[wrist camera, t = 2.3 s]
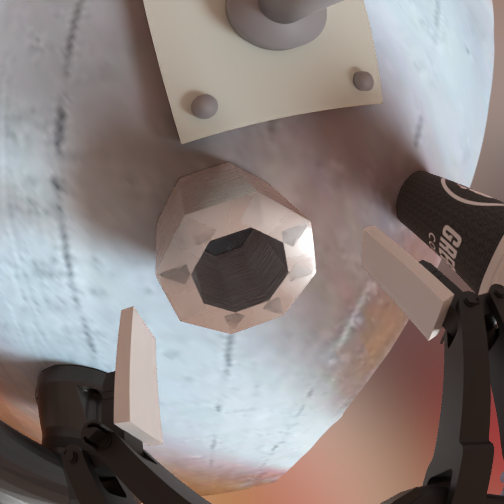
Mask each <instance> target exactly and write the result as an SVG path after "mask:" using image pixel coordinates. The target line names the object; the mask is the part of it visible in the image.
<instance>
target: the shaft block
mask: <svg viewBox="0 0 504 504" xmlns="http://www.w3.org/2000/svg"><path fill="white" fill-rule="evenodd" d="M143 2H144V7H145V11H146V15H147V19H148V24H149V28H150V32H151V36H152V40H153V44H154V48H155V52H156V55H157V59H158V63H159V67H160V71H161V74H162V78H163V82H164V85H165V89H166V93H167V96H168V100H169V103H170V107H171V110H172V114H173V117H174V121H175V124H176V128H177V131H178V134H179V138H180V141H181V144H185V143H188V142H191V141H194V140H198V139H201V138H204V137H207V136H211V135H214V134H218V133H221V132H225V131H229V130H232V129H236V128H240V127H244V126H248V125H252V124H256V123H260V122H265V121H269V120H274V119H279V118H284V117H289V116H294V115H299V114H305V113H310V112H316V111H323V110H329V109H336V108H344V107H352V106H361V105H371V104H383V100H382V92H381V84H380V77H379V70H378V64H377V58H376V53H375V47H374V42H373V38H372V33H371V28H370V24H369V20H368V16H367V12H366V8H365V4H364V1H363V0H143Z"/></svg>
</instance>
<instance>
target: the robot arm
mask: <svg viewBox="0 0 504 504" xmlns="http://www.w3.org/2000/svg"><path fill="white" fill-rule="evenodd" d="M362 268H363V269H364V270H365V271H366V272H367V273H368V274H369V275H370V276H371V277H372V278H373V279H374V280H375V281H376V282H377V283H378V284H379V285H380V287H381V288H382V289H383V290H384V291H385V292H386V293H387V294H388V295H389V296H390V297H391V299H392V300H393V301H394V302H395V303H396V304H397V305H398V306H399V307H400V308H401V310H402V311H403V312H404V313H405V314H406V315H407V316H408V317H409V319H410V320H411V321H412V322H413V323H414V324H415V325H416V327H417V328H418V329H419V330H420V331H421V332H422V334H423V335H424V336H425V337H426V338H427V340H428V341H429V340H430V339H432V338H433V337H435V336H436V335H438V334H439V332H440V330H441V328H442V326H443V327H444V328H445V329H446V330H445V332H444V335H443V337H442V339H441V342H440V343H441V344H442V343H443V341H445V352H444V354H445V355H444V381H443V395H442V407H441V414H440V422H439V429H438V435H437V441H436V447H435V452H434V456H433V459H432V461H431V463H430V465H429V466H428V469H427V472H426V475H425V479H424V482H423V486H421V487H415V488H413V489H409V490H407V491H403V492H400V493H398V494H397V495H395V496H393V497H391V498H390V499H388V500H386V501H384V502H382V503H381V504H504V488H503V491H502V493H501V495H493V494H487V490H488V485H489V480H490V475H491V469H492V463H493V456H494V446H493V443H491V442H490V441H489V427H490V403H491V400H490V399H491V395H490V394H491V393H490V391H491V390H490V383H491V388H492V392H493V397H494V402H495V406H496V412H497V418H498V424H499V432H500V439H501V448H502V455H503V459H504V286H502V285H500V284H493V285H491V286H490V288H489V290H488V293H484V294H481V295H477V294H475V293H473V292H470V291H466V292H462V291H461V290H460V289H459V288H458V287H457V286H456V285H455V284H454V283H453V282H451V281H450V280H449V279H448V278H447V277H446V276H445V275H443V274H442V273H441V272H440V271H438V269H437V268H436V267H434V266H433V265H432V264H431V263H428V262H426V261H424V260H422V261H420V262H418V261H417V260H415V259H414V258H413V257H412V256H411V255H410V254H408V253H407V252H406V251H405V250H404V249H402V248H401V247H400V246H399V245H398V244H396V243H395V242H394V241H393V240H391V239H390V238H389V237H388V236H386V235H385V234H384V233H383V232H381V231H380V230H379V229H378V228H376V227H375V226H374V225H372V226H369V227H366V228H364V229H363V242H362ZM496 323H497V325H498V327H497V325H496ZM35 397H36V402H37V404H38V410H39V418H40V424H41V430H42V445H41V444H39V443H38V442H36V441H34V440H32V439H30V438H29V437H27V436H25V435H23V434H22V433H20V432H19V431H17V430H15V429H14V428H12V427H11V426H9V425H7V424H6V423H4V422H3V421H1V420H0V504H141V502H142V503H143V504H211V503H210V502H208V501H207V500H205V499H204V498H202V497H201V496H200V495H198V494H197V493H196V492H194V491H193V490H192V489H190V488H189V487H188V486H186V485H185V484H184V483H182V482H181V481H180V480H179V479H177V478H176V477H175V476H174V475H173V474H171V473H170V472H169V471H168V470H167V469H165V468H164V467H163V466H162V465H161V464H160V463H159V462H157V461H156V460H155V459H154V458H153V457H152V456H151V455H150V454H149V453H148V452H147V451H145V450H144V449H143V445H142V442H143V443H145V444H146V445H148V446H151V445H158V444H163V437H162V429H161V420H160V410H159V398H158V384H157V367H156V339H155V337H154V336H153V335H152V333H151V332H150V330H149V329H148V327H147V326H146V324H145V323H144V321H143V320H142V318H141V317H140V315H139V314H138V312H137V311H136V309H135V308H134V306H133V307H130V308H127V309H123V310H121V318H120V326H119V334H118V344H117V355H116V369H115V371H114V372H110V373H104V372H101V371H98V370H94V369H90V368H86V367H80V366H71V365H61V366H54V367H50V368H47V369H45V370H44V371H42V372H41V373H40V375H39V377H38V380H37V385H36V390H35ZM500 480H501V482H502V483H504V472H503V473H502V474H501V476H500ZM140 501H141V502H140Z"/></svg>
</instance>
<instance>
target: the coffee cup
mask: <svg viewBox="0 0 504 504" xmlns="http://www.w3.org/2000/svg"><path fill="white" fill-rule="evenodd" d="M397 214H398V217H399V219H400V221H401V222H402V223H403V224H404V225H405V226H406V227H408V228H409V229H410V230H411V231H412V232H413V233H415V234H416V235H417V236H418V237H419V238H420V239H421V240H422V241H424V242H425V243H426V244H427V245H428V246H429V247H430V248H431V249H432V250H433V251H434V252H435V253H437V254H438V255H439V256H440V257H441V258H442V259H443V260H444V261H445V262H446V263H447V264H448V265H449V266H450V267H451V268H452V269H453V270H454V271H455V272H456V273H457V274H458V275H459V276H460V277H461V278H462V279H463V280H464V281H465V282H466V283H467V284H468V286H469V287H470V288H471V289H472V290H473V291H474V292H475V293H476V294H477V295H481V294H484V293H488V290H489V288H490V286H491V285H493V284H500V285H502V286H504V203H503V202H501V201H499V200H497V199H494V198H492V197H490V196H488V195H485V194H483V193H480V192H478V191H475V190H473V189H471V188H468V187H466V186H463V185H461V184H458V183H455V182H453V181H450V180H447V179H445V178H442V177H439V176H436V175H433V174H430V173H427V172H424V171H419V172H416V173H414V174H412V175H411V176H410V177H409V178H408V179H407V180H406V182H405V183H404V185H403V186H402V188H401V190H400V193H399V196H398V201H397Z"/></svg>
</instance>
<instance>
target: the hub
mask: <svg viewBox="0 0 504 504" xmlns="http://www.w3.org/2000/svg"><path fill="white" fill-rule="evenodd" d="M250 227H252V228H253V229H252V231H251V232H250V234H249V236H248V237H247V239H246V240H245V242H244V244H243V245H242V247H240V248H237V249H234V250H231V251H228V252H225V253H222V254H219V255H216V256H215V255H213V254H210V253H208V252H205V251H204V250H205V248H206V247H207V245H208V243H209V241H211V240H214V239H217V238H220V237H223V236H226V235H229V234H232V233H235V232H238V231H241V230H244V229H247V228H250ZM315 273H316V266H315V256H314V246H313V236H312V227H311V221H310V220H309V219H308V218H307V217H305V216H304V215H303V214H302V213H301V212H300V211H299V210H298V209H297V208H296V207H295V206H293V205H292V204H291V203H290V202H289V201H288V200H287V199H286V198H284V197H283V196H282V195H281V194H280V193H279V192H278V191H277V190H275V189H274V188H273V187H272V186H271V185H270V184H268V183H266V182H264V181H263V180H261V179H259V178H257V177H256V176H254V175H252V174H250V173H248V172H246V171H245V170H243V169H241V168H239V167H237V166H235V165H234V164H232V163H230V162H227V163H224V164H220V165H217V166H214V167H211V168H207V169H204V170H201V171H198V172H195V173H192V174H189V175H186V176H183V177H180V178H179V179H178V181H177V183H176V185H175V187H174V189H173V190H172V192H171V194H170V196H169V198H168V200H167V202H166V204H165V206H164V208H163V210H162V213H161V215H160V217H159V219H158V221H157V235H156V267H155V275H156V277H157V279H158V281H159V283H160V285H161V286H162V288H163V290H164V292H165V294H166V296H167V298H168V300H169V302H170V303H171V305H172V307H173V309H174V311H175V312H176V314H177V316H178V318H179V320H180V321H183V322H186V323H190V324H194V325H197V326H201V327H205V328H209V329H213V330H217V331H221V332H225V333H230V334H233V333H236V332H239V331H241V330H244V329H247V328H250V327H253V326H255V325H258V324H261V323H264V322H266V321H269V320H272V319H274V318H277V317H280V316H282V315H284V314H285V312H286V311H287V310H288V309H289V307H290V306H291V305H292V303H293V302H294V301H295V300H296V298H297V297H298V296H299V294H300V293H301V292H302V290H303V289H304V288H305V286H306V285H307V284H308V282H309V281H310V280H311V278H312V277H313V276H314V274H315Z"/></svg>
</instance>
